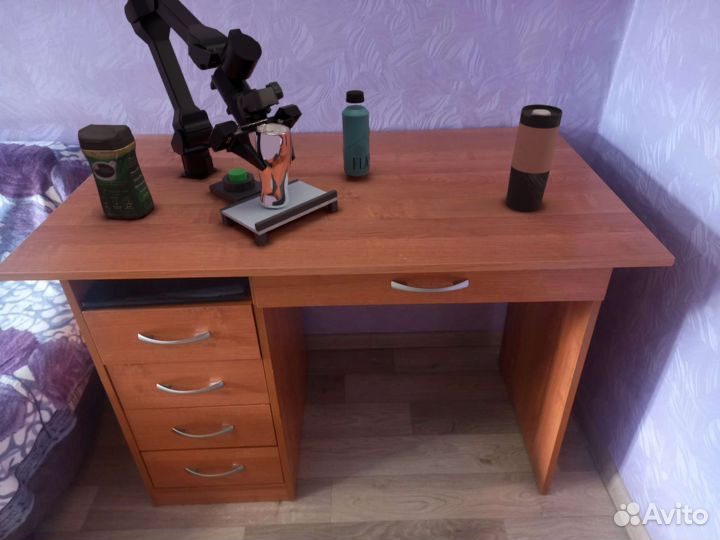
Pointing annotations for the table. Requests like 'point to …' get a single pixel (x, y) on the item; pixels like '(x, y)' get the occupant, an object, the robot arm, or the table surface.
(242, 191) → the control box
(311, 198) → the shelf
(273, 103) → the robot arm
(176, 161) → the table surface
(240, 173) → the button
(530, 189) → the travel mug
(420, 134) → the table surface
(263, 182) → the beer glass
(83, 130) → the coffee jar
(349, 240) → the table surface
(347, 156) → the beverage bottle
